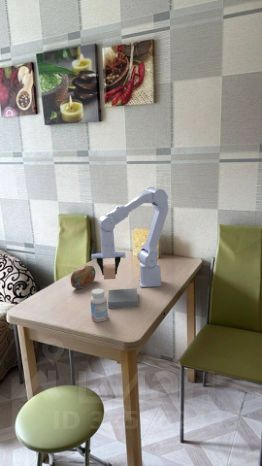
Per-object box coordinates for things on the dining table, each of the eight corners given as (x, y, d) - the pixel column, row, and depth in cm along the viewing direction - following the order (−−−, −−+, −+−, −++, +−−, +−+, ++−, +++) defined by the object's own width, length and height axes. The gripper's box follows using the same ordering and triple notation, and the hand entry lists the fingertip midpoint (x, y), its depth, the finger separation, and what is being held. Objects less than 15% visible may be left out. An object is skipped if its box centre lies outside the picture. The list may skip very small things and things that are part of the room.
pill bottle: (92, 315, 136) (89, 288, 133) (107, 314, 137) (105, 287, 134) (91, 323, 131) (89, 295, 128) (108, 321, 131) (106, 293, 128)
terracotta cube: (115, 274, 157) (115, 263, 156) (115, 278, 153) (114, 267, 151) (104, 275, 157) (103, 264, 156) (103, 279, 153) (103, 268, 151)
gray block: (136, 294, 153) (136, 288, 153) (138, 307, 142) (138, 300, 141) (109, 296, 153) (108, 289, 152) (108, 309, 142) (107, 302, 141)
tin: (75, 291, 158) (73, 274, 156) (70, 290, 160) (68, 273, 158) (96, 280, 171) (95, 263, 168) (91, 279, 172) (90, 262, 170)
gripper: (124, 240, 155) (126, 269, 158) (91, 242, 155) (93, 271, 158) (124, 245, 148) (126, 275, 152) (90, 247, 148) (92, 277, 151)
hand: (109, 273), depth 155 cm, fingers closed on terracotta cube, 5 cm apart
